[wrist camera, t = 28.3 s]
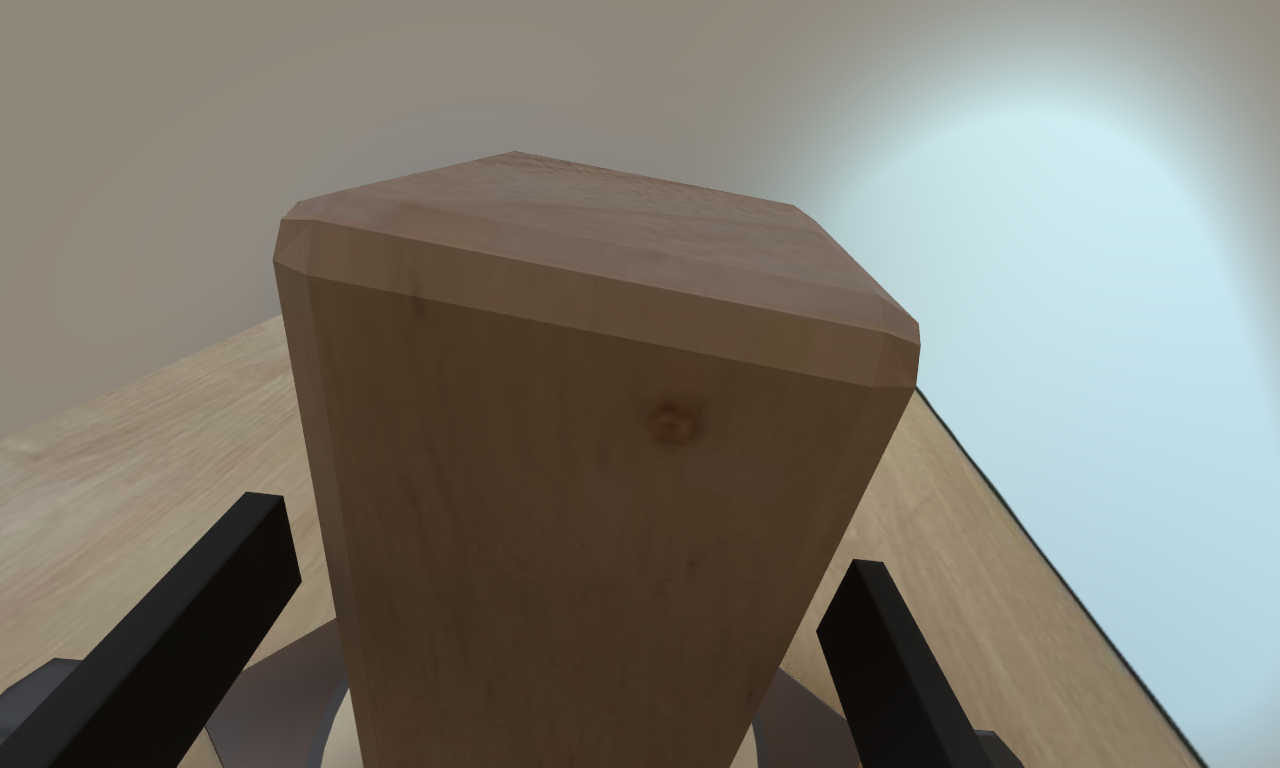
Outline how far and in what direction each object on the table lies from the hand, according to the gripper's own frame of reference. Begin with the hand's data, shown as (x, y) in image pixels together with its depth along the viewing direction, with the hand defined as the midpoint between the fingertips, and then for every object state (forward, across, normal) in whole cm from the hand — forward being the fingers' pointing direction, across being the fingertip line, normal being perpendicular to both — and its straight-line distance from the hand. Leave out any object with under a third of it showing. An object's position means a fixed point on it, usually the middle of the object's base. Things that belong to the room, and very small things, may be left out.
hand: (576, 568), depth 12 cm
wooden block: (+3, 0, -12) cm, 13 cm away
